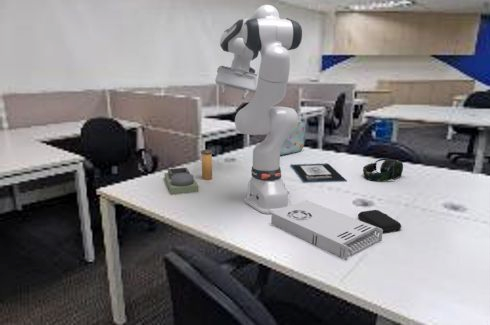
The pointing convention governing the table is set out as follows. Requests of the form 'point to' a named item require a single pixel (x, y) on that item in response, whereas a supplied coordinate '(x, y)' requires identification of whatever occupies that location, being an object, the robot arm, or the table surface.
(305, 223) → the power supply unit
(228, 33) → the robot arm
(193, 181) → the green slab
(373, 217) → the carrying case or bag
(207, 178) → the orange pill bottle
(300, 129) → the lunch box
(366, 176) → the headphones
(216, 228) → the table surface
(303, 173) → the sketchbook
